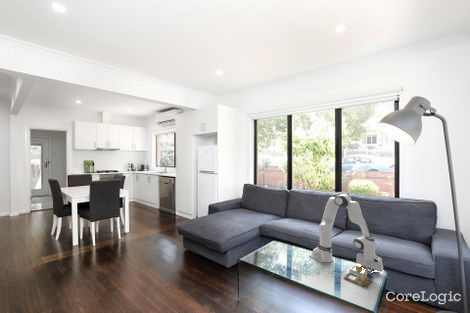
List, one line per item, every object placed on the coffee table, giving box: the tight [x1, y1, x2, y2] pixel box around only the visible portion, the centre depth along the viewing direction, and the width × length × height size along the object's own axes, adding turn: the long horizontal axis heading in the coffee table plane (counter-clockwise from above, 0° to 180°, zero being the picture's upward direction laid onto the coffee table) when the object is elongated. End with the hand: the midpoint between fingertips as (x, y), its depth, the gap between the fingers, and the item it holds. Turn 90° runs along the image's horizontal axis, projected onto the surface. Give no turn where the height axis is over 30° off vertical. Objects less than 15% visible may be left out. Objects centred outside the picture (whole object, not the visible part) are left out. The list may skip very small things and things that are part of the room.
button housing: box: [365, 272, 374, 280], centre depth 196 cm, size 5×5×3 cm
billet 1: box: [355, 263, 362, 272], centre depth 204 cm, size 4×5×6 cm
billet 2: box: [359, 274, 368, 285], centre depth 188 cm, size 4×5×6 cm
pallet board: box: [343, 271, 373, 289], centre depth 191 cm, size 18×12×2 cm, turn 41°
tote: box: [349, 265, 367, 276], centre depth 205 cm, size 12×9×2 cm
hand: (369, 272), depth 196 cm, fingers closed, pressing on start button
